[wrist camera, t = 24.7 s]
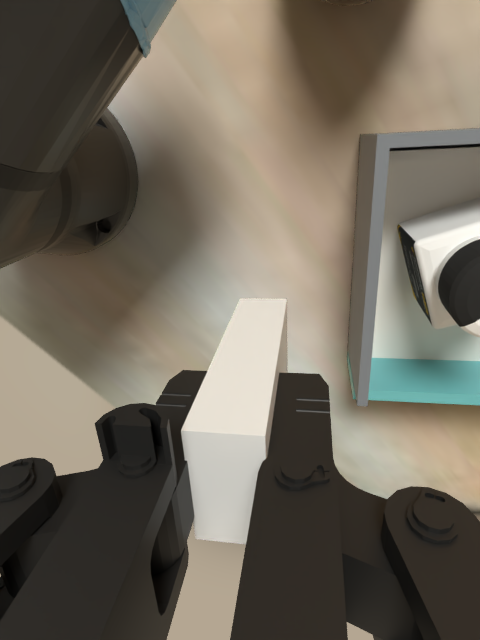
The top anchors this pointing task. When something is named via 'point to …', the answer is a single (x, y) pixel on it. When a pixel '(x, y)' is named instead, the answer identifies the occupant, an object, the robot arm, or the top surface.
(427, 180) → the tray
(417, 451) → the top surface
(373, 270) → the bay
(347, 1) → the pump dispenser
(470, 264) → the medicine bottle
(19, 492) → the robot arm
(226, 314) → the top surface
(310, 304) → the top surface
